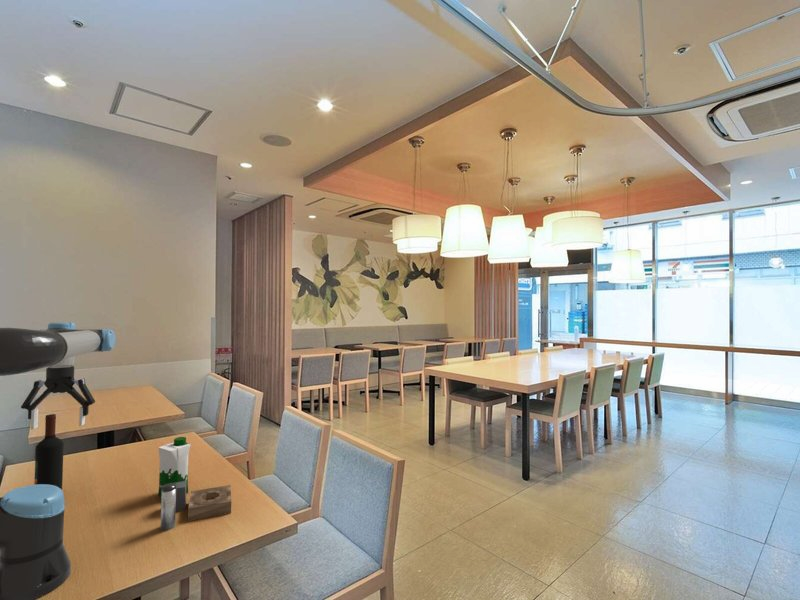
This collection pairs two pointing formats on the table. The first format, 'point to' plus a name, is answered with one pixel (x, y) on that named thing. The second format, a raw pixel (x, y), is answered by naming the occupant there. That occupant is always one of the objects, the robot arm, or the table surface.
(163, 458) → the milk carton
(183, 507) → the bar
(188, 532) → the table surface
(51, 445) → the wine bottle
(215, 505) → the socket block
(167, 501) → the rod
